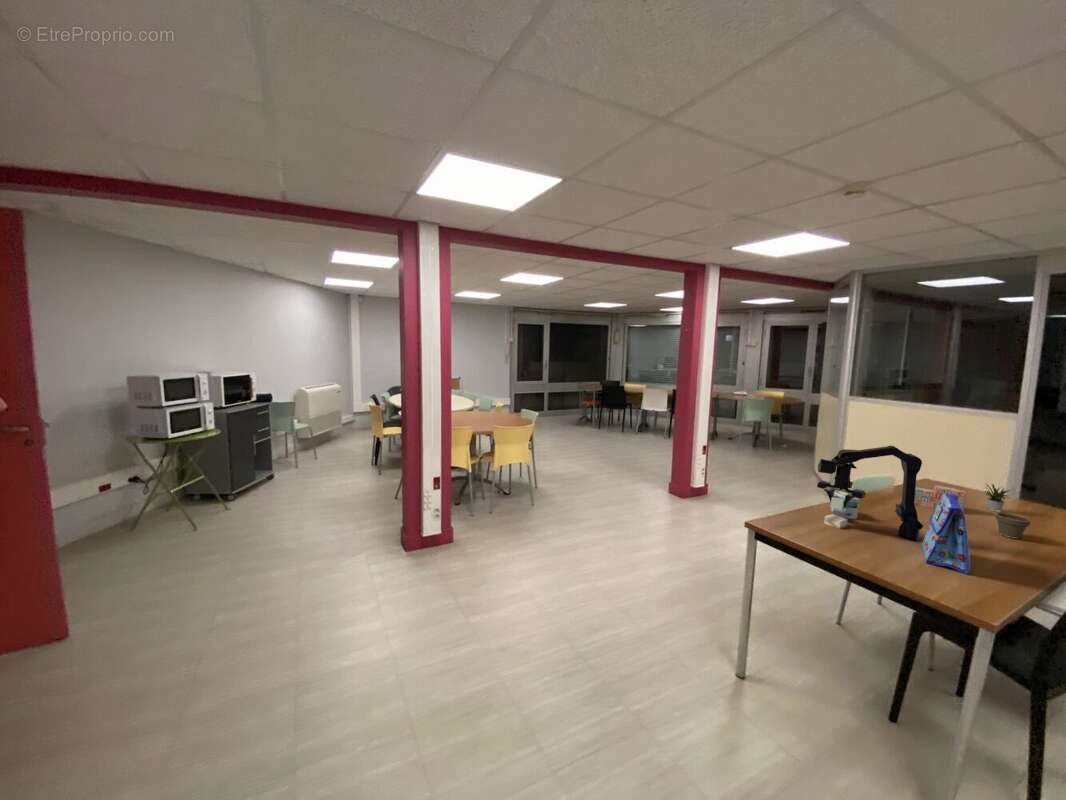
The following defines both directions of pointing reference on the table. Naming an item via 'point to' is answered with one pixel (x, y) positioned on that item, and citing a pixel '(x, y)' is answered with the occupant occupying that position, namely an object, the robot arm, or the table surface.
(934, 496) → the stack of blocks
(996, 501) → the house plant
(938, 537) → the lunch bag
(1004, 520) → the flower pot
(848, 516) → the light bulb box
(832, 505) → the sage block
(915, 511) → the robot arm
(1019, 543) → the table surface
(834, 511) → the grey block
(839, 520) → the birch slab
